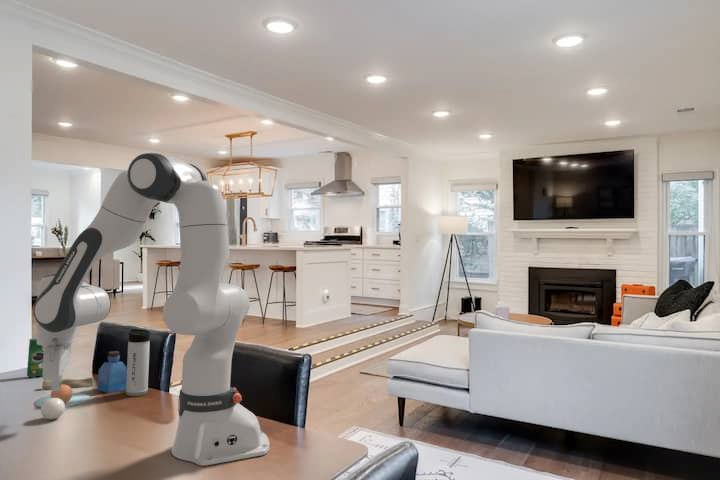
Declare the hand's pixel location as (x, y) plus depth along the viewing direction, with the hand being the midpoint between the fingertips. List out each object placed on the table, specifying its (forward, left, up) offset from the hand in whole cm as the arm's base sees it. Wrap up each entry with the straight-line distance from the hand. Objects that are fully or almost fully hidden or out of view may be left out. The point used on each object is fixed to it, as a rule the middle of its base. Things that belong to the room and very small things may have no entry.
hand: (56, 389), depth 128 cm
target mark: (+3, -22, -9) cm, 24 cm away
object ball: (+3, -19, -7) cm, 20 cm away
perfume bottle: (-9, -31, -10) cm, 34 cm away
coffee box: (+16, -51, -10) cm, 54 cm away
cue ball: (+2, -6, -7) cm, 9 cm away
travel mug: (-17, -25, -10) cm, 32 cm away
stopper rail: (+4, -36, -9) cm, 37 cm away
